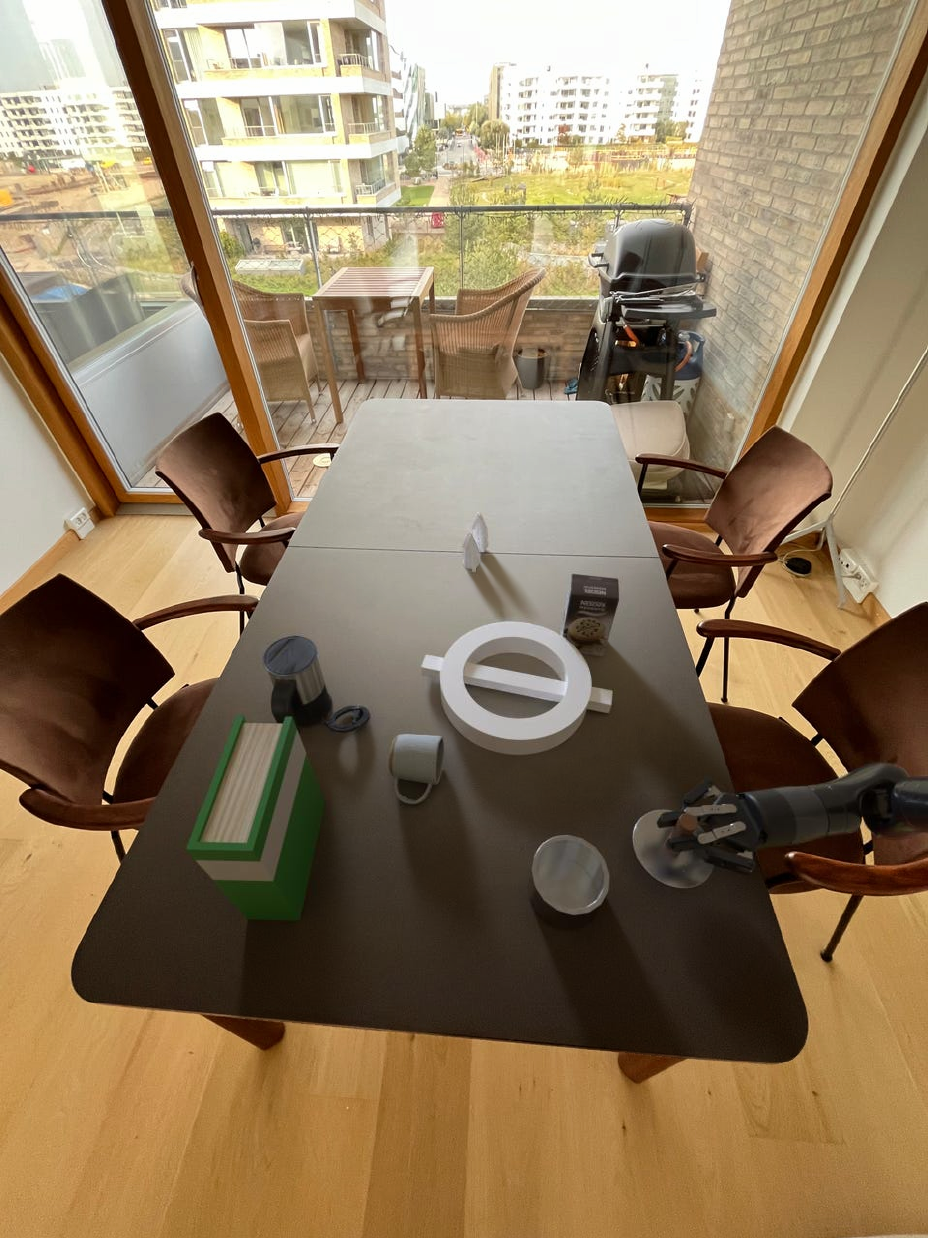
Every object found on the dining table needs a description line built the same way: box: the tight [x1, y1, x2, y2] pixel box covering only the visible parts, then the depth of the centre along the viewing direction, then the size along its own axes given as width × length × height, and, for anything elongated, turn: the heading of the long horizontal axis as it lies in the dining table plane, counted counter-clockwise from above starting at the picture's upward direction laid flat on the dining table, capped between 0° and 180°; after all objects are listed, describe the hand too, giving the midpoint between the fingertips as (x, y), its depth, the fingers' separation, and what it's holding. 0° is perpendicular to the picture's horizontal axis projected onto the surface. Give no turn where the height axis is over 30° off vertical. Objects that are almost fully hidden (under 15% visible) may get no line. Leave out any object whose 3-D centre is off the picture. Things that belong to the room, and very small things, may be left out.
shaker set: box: [462, 511, 489, 573], centre depth 131 cm, size 12×4×11 cm, turn 160°
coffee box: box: [559, 573, 620, 658], centre depth 109 cm, size 9×6×16 cm
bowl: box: [527, 834, 611, 932], centre depth 77 cm, size 10×10×7 cm
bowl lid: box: [631, 809, 715, 890], centre depth 77 cm, size 11×11×9 cm
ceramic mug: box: [388, 733, 445, 805], centre depth 90 cm, size 11×8×8 cm
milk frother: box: [261, 635, 371, 737], centre depth 97 cm, size 14×16×15 cm
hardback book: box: [185, 715, 326, 922], centre depth 75 cm, size 18×7×24 cm, turn 179°
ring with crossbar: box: [420, 620, 613, 756], centre depth 104 cm, size 28×28×5 cm
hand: (663, 833), depth 76 cm, fingers closed on bowl lid, 2 cm apart
